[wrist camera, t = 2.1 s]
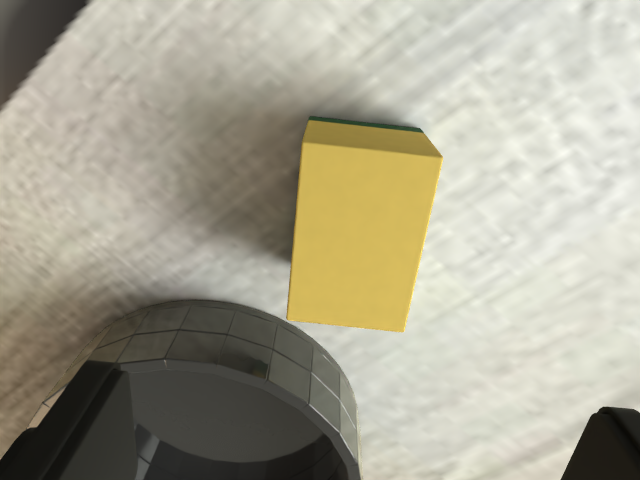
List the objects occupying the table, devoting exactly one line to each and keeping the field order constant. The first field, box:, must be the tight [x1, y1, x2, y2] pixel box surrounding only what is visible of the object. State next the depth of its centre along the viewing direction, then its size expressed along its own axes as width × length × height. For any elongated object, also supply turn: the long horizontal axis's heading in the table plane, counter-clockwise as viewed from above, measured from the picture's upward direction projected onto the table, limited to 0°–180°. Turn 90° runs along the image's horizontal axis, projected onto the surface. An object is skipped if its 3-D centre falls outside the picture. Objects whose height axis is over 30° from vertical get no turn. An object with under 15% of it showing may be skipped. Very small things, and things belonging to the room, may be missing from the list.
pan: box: [26, 300, 363, 480], centre depth 24 cm, size 16×16×4 cm
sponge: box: [286, 116, 443, 332], centre depth 18 cm, size 7×5×4 cm, turn 174°
